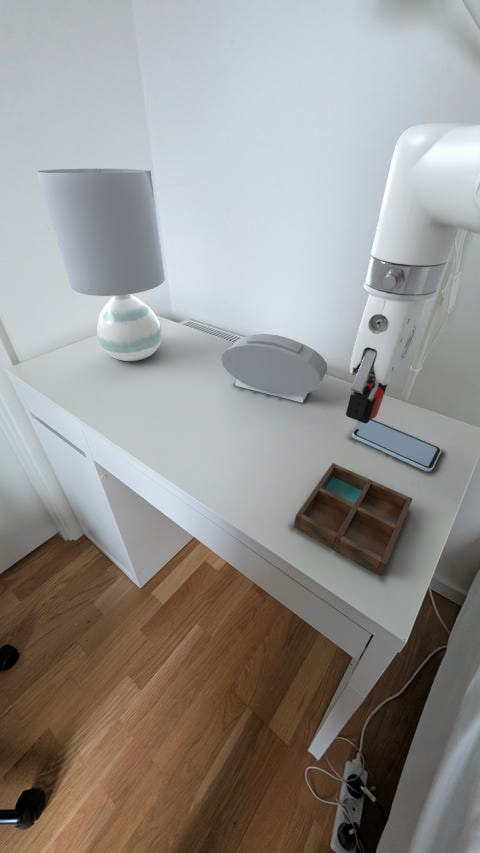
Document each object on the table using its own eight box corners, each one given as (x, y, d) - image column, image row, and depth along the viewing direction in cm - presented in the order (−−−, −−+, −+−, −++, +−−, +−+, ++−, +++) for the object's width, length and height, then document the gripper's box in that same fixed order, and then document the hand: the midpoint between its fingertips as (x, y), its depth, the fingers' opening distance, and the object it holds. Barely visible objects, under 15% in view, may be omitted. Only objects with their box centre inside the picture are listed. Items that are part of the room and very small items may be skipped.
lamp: (89, 377, 83) (22, 173, 58) (97, 340, 100) (48, 168, 74) (177, 368, 87) (151, 172, 61) (171, 333, 103) (149, 167, 78)
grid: (406, 511, 53) (412, 498, 51) (379, 576, 45) (386, 564, 43) (329, 475, 59) (332, 462, 57) (293, 527, 50) (296, 514, 48)
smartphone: (431, 471, 58) (350, 434, 65) (429, 474, 59) (349, 437, 66) (442, 448, 63) (366, 415, 70) (440, 451, 63) (364, 419, 70)
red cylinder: (381, 409, 49) (387, 389, 46) (371, 423, 46) (378, 402, 44) (354, 400, 50) (359, 379, 48) (343, 413, 48) (349, 392, 46)
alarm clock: (323, 393, 78) (332, 342, 70) (316, 407, 74) (325, 354, 66) (233, 372, 86) (232, 323, 78) (221, 383, 81) (220, 333, 73)
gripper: (418, 305, 30) (368, 454, 41) (454, 264, 40) (406, 393, 52) (338, 289, 33) (312, 431, 45) (391, 255, 44) (359, 378, 55)
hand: (363, 409), depth 48 cm, fingers closed on red cylinder, 4 cm apart
